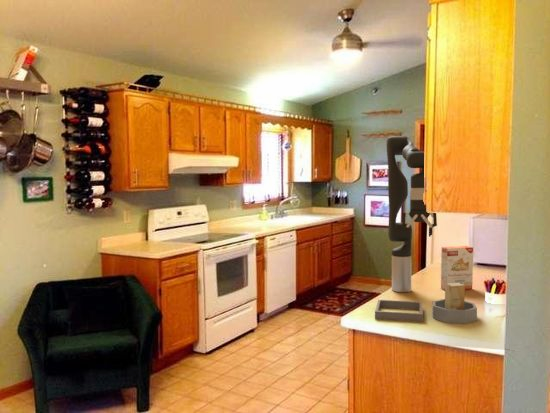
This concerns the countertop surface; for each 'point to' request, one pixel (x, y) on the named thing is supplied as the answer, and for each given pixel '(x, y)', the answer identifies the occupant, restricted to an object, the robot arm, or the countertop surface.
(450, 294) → the skincare box
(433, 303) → the ceramic bowl
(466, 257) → the cracker box
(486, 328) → the countertop surface
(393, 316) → the parts tray
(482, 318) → the countertop surface
